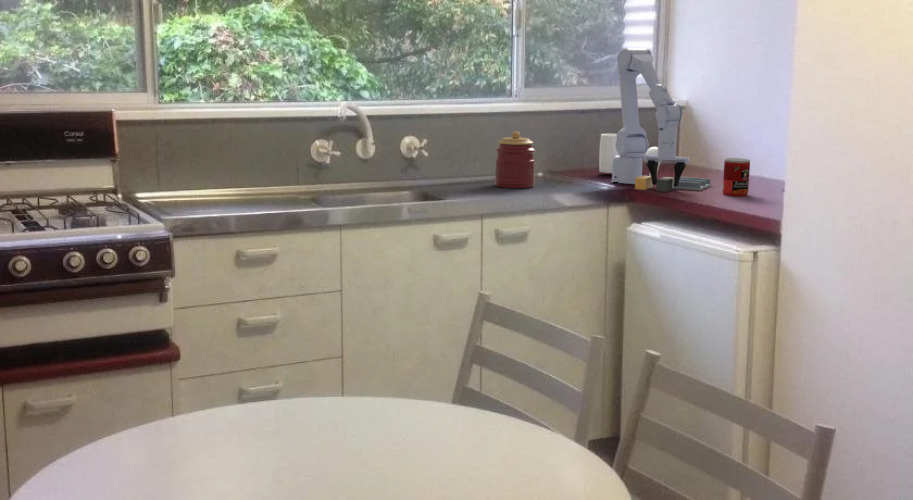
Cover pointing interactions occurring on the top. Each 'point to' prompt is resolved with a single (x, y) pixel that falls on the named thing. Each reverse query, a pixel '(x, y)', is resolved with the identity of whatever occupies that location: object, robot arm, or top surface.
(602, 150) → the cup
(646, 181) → the tall orange block
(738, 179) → the canned food
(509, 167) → the canister
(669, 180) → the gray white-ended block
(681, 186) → the slot board
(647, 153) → the lightbulb
